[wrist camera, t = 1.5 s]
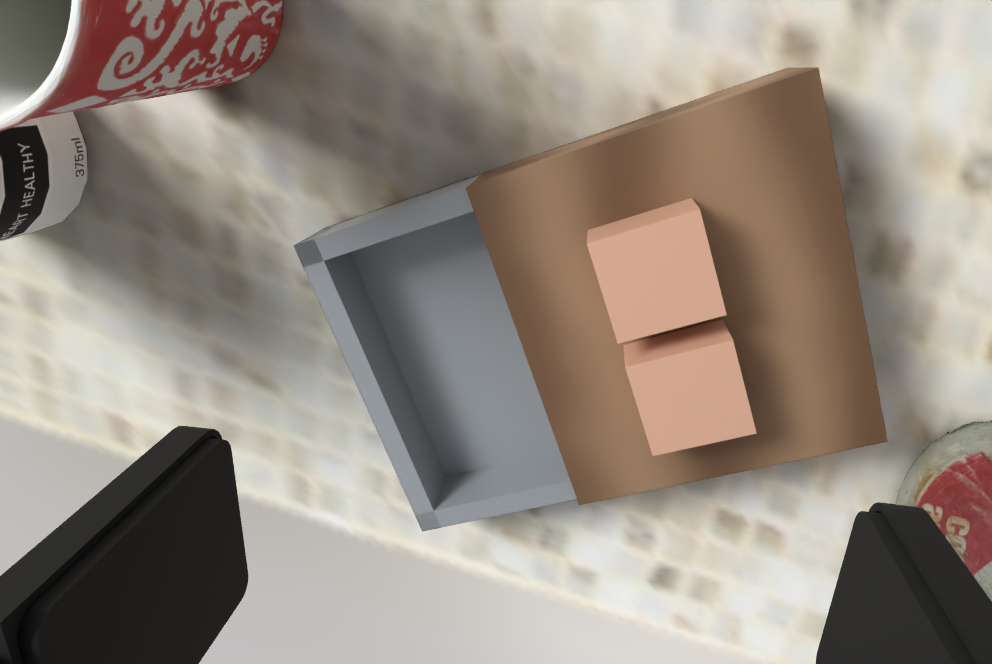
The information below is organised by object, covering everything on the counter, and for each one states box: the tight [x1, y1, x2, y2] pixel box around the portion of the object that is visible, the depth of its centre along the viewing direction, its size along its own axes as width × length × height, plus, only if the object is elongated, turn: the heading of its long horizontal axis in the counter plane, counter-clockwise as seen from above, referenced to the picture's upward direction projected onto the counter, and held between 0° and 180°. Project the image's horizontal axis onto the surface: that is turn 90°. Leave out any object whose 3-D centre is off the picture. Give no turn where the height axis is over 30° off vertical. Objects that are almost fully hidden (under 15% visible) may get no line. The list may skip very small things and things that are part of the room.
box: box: [294, 174, 577, 531], centre depth 31 cm, size 8×15×4 cm, turn 20°
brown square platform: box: [466, 68, 888, 505], centre depth 28 cm, size 13×15×4 cm
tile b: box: [587, 198, 727, 344], centre depth 25 cm, size 4×4×2 cm
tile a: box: [623, 319, 757, 456], centre depth 27 cm, size 4×4×2 cm
